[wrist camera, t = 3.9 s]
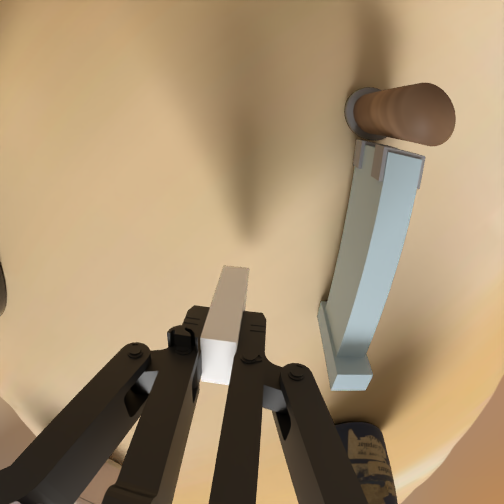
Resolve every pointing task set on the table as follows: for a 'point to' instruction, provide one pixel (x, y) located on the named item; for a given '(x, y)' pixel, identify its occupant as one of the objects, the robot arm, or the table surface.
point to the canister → (369, 460)
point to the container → (100, 483)
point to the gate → (367, 258)
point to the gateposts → (402, 114)
